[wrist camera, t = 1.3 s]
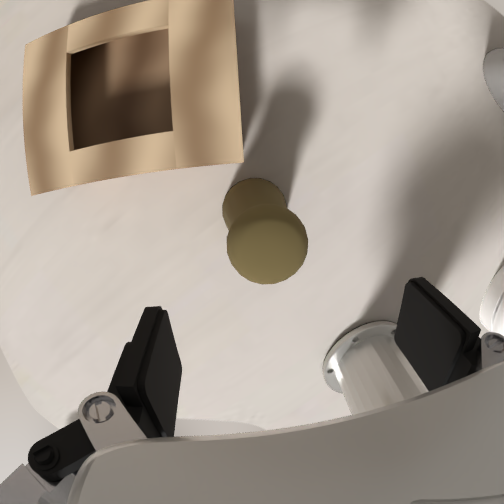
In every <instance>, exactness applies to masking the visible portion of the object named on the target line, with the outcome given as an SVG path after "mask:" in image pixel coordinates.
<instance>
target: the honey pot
mask: <svg viewBox="0 0 504 504" xmlns="http://www.w3.org/2000/svg"><path fill="white" fill-rule="evenodd" d="M479 317H480V322H481V323H482V324H483V326H484V327H485V328H487V329H488V330H489V331H490V332H495V333H499V334H501V335H503V336H504V266H502V268H501V269H500V270H499V271H498V272H497V273H496V275H495V276H494V278H493V279H492V281H491V282H490V284H489V286H488V288H487V290H486V292H485V295H484V297H483V300H482V303H481V307H480V315H479Z"/></svg>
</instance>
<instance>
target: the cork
mask: <svg viewBox="0 0 504 504" xmlns="http://www.w3.org/2000/svg"><path fill="white" fill-rule="evenodd" d="M222 208H223V218H224V220H225V223H226V226H227V228H228V230H229V233H228V236H227V254H228V256H229V259H230V261H231V264H232V265H233V267H234V268H235V269H236V270H237V271H238V273H239V274H240V275H241V276H243V277H244V278H246V279H248V280H249V281H251V282H255V283H259V284H275V283H278V282H281V281H284V280H286V279H288V278H289V277H291V276H292V275H294V274H295V273H296V272H297V271H298V269H299V268H300V267H301V266H302V265H303V262H304V260H305V258H306V255H307V249H308V238H307V234H306V230H305V227H304V225H303V224H302V222H301V221H300V219H299V218H298V217H297V216H296V215H295V214H294V213H293V212H291V211H290V210H289V209H287V206H286V202H285V199H284V195H283V194H282V193H281V191H280V190H279V188H278V187H277V186H275V185H274V184H273V183H271V182H270V181H267V180H264V179H261V178H249V179H246V180H243V181H240V182H238V183H237V184H236V185H234V186H233V187H232V188H231V189H230V190H229V192H228V193H227V194H226V196H225V199H224V202H223V205H222Z"/></svg>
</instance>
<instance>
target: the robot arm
mask: <svg viewBox="0 0 504 504" xmlns="http://www.w3.org/2000/svg"><path fill="white" fill-rule="evenodd" d="M480 331H481V329H480V328H479V327H478V326H477V325H476V324H475V323H474V322H473V321H472V320H471V319H470V318H469V317H467V316H466V315H465V314H464V313H463V312H462V311H461V310H460V309H459V308H458V307H457V306H456V305H454V304H453V303H452V302H451V301H450V300H449V299H448V298H447V297H446V296H444V295H443V294H442V293H441V292H440V291H439V290H438V289H436V288H435V287H434V286H433V285H432V284H431V283H429V282H428V281H427V280H426V279H425V278H423V277H419V278H413V279H410V280H409V281H408V283H407V284H406V285H405V290H404V295H403V300H402V305H401V309H400V314H399V318H398V323H397V324H395V323H393V322H388V321H377V322H372V323H368V324H365V325H363V326H360V327H358V328H356V329H354V330H352V331H351V332H349V333H348V334H346V335H345V336H344V337H343V338H341V339H340V340H339V341H338V342H337V343H336V344H335V345H334V346H333V347H332V349H331V350H330V352H329V353H328V355H327V356H326V359H325V361H324V364H323V376H324V379H325V382H326V383H327V385H328V386H329V387H330V388H331V389H332V390H334V391H336V392H338V393H342V394H344V397H345V399H346V402H347V404H348V407H349V409H350V411H351V414H352V415H350V416H346V417H342V418H337V419H332V420H328V421H323V422H318V423H312V424H307V425H301V426H295V427H289V428H282V429H275V430H267V431H258V432H249V433H237V434H224V435H208V436H181V437H174V430H175V421H176V413H177V405H178V397H179V390H180V382H181V375H182V365H181V361H180V358H179V354H178V351H177V347H176V343H175V340H174V336H173V332H172V328H171V324H170V320H169V316H168V312H167V310H162V308H161V307H160V306H156V307H145V309H144V312H143V314H142V316H141V319H140V321H139V324H138V326H137V329H136V331H135V334H134V336H133V339H132V341H131V342H128V343H126V345H125V347H124V349H123V352H122V354H121V357H120V359H119V362H118V365H117V367H116V370H115V372H114V375H113V378H112V381H111V383H110V386H109V389H108V391H107V392H96V393H94V394H91V395H89V396H88V397H86V398H85V399H84V400H83V401H82V402H81V404H80V406H79V408H78V416H79V419H78V420H76V421H75V422H73V423H71V424H69V425H67V426H65V427H64V428H62V429H60V430H58V431H56V432H55V433H53V434H51V435H49V436H47V437H45V438H43V439H41V440H39V441H38V442H36V443H35V444H34V445H33V446H32V447H31V449H30V451H29V454H28V462H29V463H28V464H27V465H26V466H25V465H24V464H22V465H20V466H19V467H18V468H17V469H16V470H15V471H14V472H13V473H12V474H11V475H10V476H9V477H8V478H7V479H6V480H5V481H3V482H2V483H1V484H0V504H504V336H503V335H501V334H499V333H495V332H488V333H485V334H484V335H483V336H482V338H481V339H480V338H479V337H478V336H479V334H480Z"/></svg>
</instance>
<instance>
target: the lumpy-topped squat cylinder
mask: <svg viewBox="0 0 504 504" xmlns="http://www.w3.org/2000/svg"><path fill="white" fill-rule="evenodd" d="M483 72H484V77H485V81H486V83H487V86H488V88H489V90H490V92H491V94H492V96H493V98H494V100H495V101H496V102H497V104H498V105H499V106H500V108H501V109H502V110H503V112H504V48H499V49H494V50H492V51H490V52H488V53H487V55H486V57H485V59H484V63H483Z"/></svg>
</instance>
